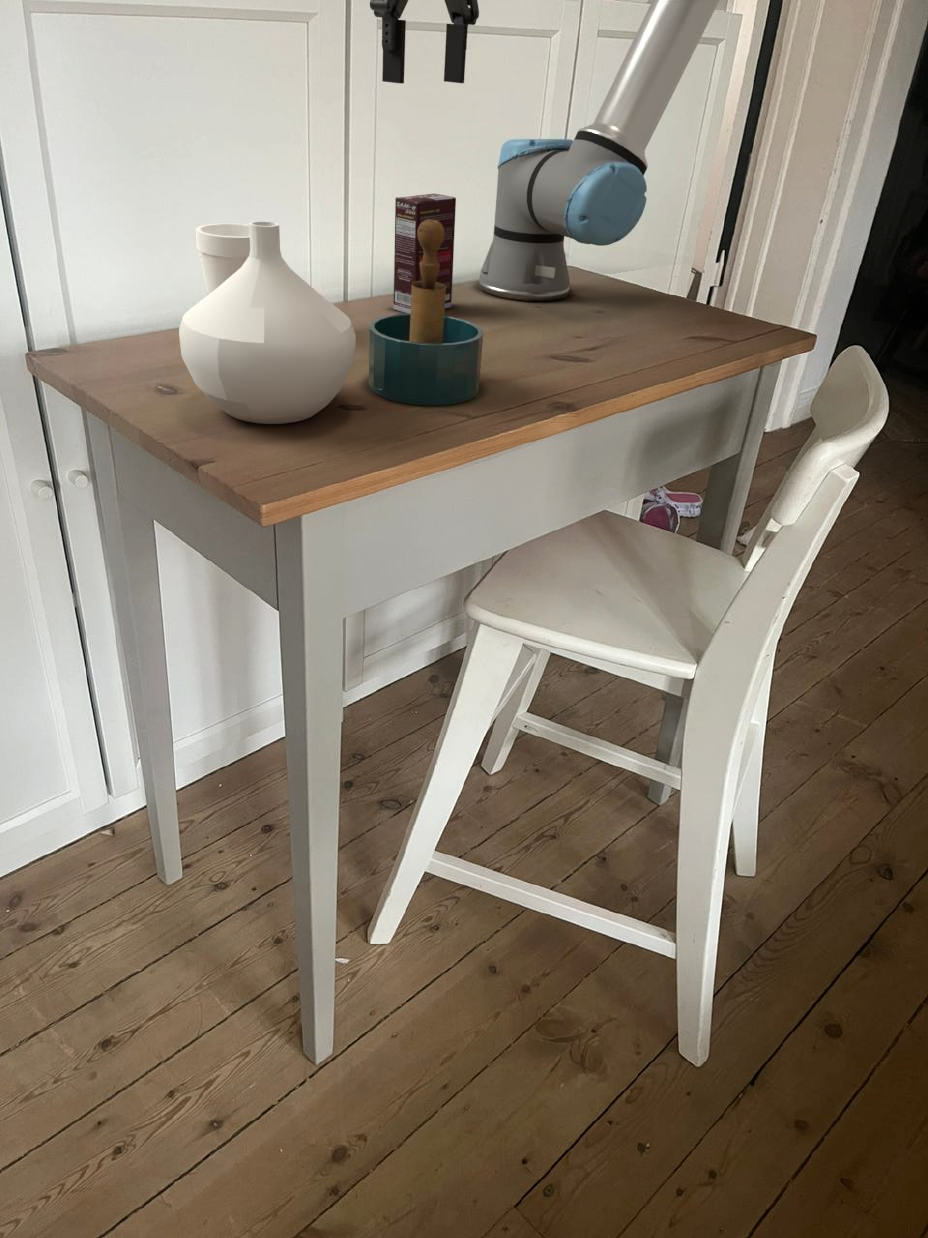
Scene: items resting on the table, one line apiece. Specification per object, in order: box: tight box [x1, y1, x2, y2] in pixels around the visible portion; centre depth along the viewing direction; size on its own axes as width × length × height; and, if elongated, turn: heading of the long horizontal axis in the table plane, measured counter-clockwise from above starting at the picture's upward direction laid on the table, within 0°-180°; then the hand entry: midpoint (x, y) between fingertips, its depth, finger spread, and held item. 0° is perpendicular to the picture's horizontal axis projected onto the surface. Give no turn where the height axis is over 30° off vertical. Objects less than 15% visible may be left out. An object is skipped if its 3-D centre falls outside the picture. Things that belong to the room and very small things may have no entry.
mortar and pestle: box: [409, 220, 446, 344], centre depth 109 cm, size 7×6×18 cm
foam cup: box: [194, 222, 250, 296], centre depth 125 cm, size 10×9×13 cm
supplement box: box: [392, 193, 457, 314], centre depth 141 cm, size 9×5×16 cm, turn 139°
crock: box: [368, 313, 484, 407], centre depth 112 cm, size 13×13×7 cm
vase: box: [178, 220, 357, 425], centre depth 99 cm, size 18×18×19 cm
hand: (424, 82), depth 120 cm, fingers open, 13 cm apart
